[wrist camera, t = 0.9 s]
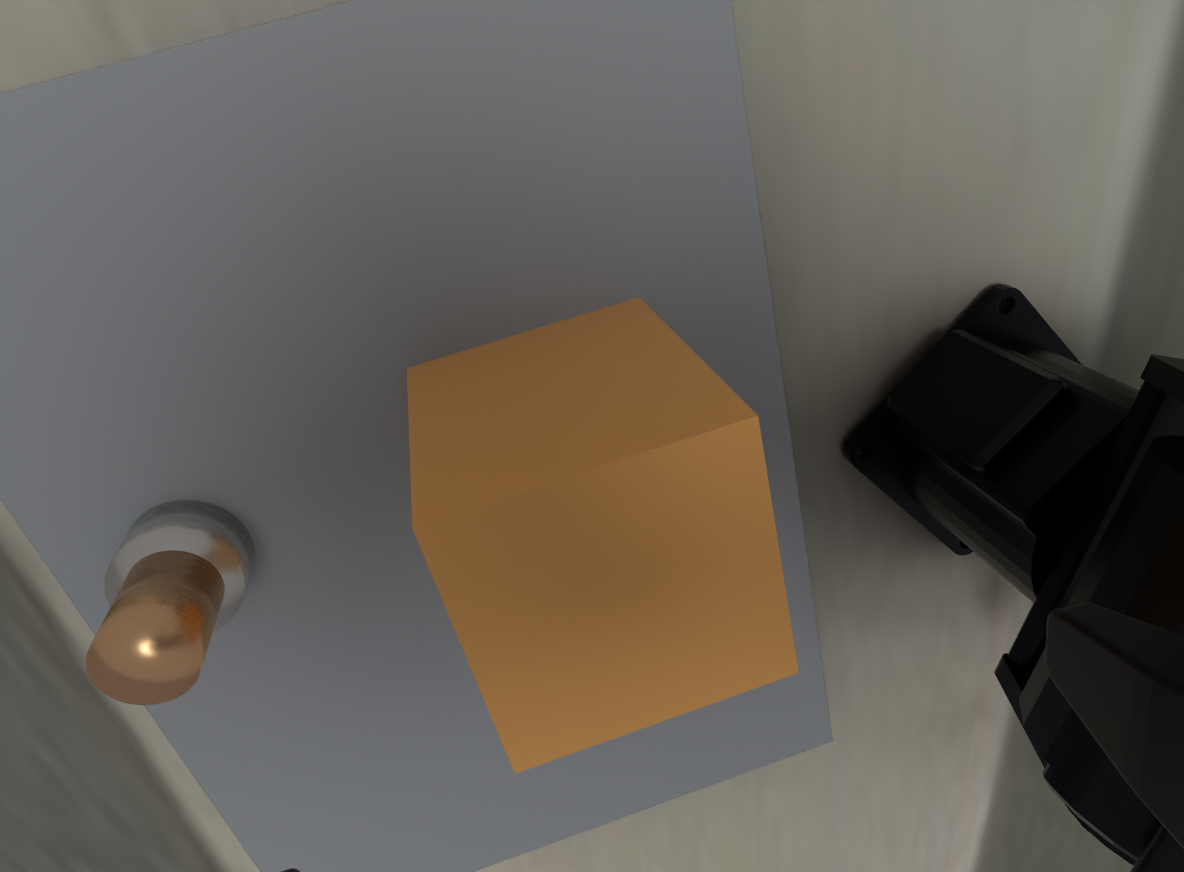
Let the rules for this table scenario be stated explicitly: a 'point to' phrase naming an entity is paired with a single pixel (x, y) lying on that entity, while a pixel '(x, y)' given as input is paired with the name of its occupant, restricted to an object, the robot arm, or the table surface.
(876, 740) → the table surface
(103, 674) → the copper silver stepped knob
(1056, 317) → the table surface
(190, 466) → the flat grey board
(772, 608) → the orange cardboard-tone cube
